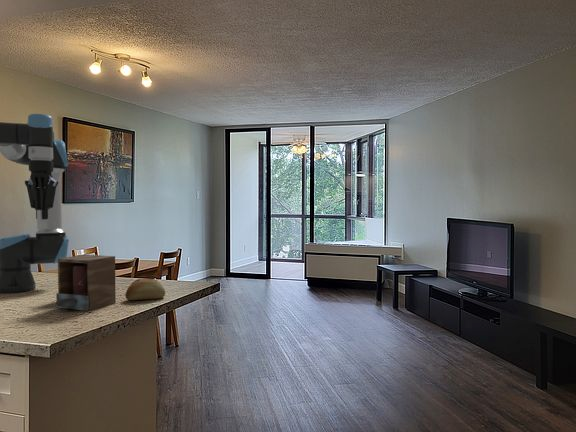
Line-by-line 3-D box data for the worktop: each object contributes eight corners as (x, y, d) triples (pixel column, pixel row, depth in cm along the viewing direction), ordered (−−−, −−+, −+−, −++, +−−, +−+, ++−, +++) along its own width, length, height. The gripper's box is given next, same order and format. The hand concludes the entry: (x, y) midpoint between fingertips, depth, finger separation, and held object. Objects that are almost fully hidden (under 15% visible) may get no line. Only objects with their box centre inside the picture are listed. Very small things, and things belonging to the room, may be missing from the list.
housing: (58, 307, 169) (57, 258, 168) (85, 300, 181) (85, 254, 180) (89, 310, 164) (89, 260, 163) (115, 303, 176) (115, 256, 175)
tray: (47, 310, 164) (47, 295, 164) (83, 300, 180) (83, 287, 180) (78, 313, 159) (77, 298, 159) (112, 302, 175) (112, 289, 175)
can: (94, 301, 174) (93, 263, 174) (88, 305, 168) (87, 265, 167) (77, 301, 174) (76, 263, 173) (70, 305, 167) (70, 265, 167)
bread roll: (122, 299, 184) (122, 278, 183) (161, 295, 191) (161, 275, 191) (128, 304, 175) (127, 282, 175) (168, 299, 183) (168, 279, 183)
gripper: (17, 159, 161) (18, 229, 162) (46, 158, 156) (47, 230, 157) (35, 161, 168) (37, 227, 169) (64, 160, 163) (65, 228, 164)
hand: (42, 228), depth 163 cm, fingers closed
